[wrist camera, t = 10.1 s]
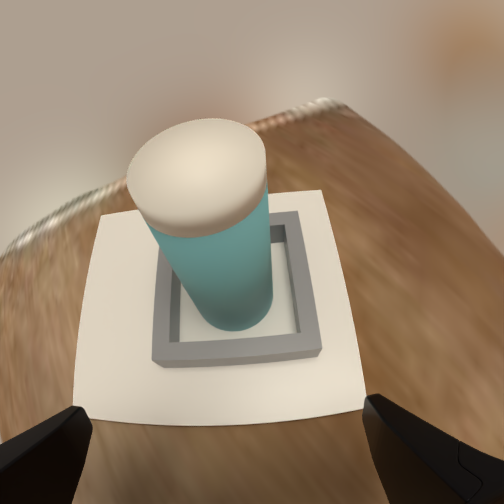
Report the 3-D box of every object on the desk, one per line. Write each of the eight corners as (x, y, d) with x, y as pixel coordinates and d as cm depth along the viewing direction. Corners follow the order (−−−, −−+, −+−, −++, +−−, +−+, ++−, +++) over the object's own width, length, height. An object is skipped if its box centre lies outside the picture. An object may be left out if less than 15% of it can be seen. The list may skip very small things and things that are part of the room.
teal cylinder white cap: (228, 347, 18) (170, 243, 8) (182, 292, 20) (107, 165, 10) (289, 296, 19) (296, 156, 10) (239, 248, 21) (210, 105, 12)
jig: (363, 408, 16) (378, 404, 13) (80, 416, 16) (54, 411, 14) (319, 198, 24) (323, 171, 22) (106, 222, 25) (91, 200, 22)
